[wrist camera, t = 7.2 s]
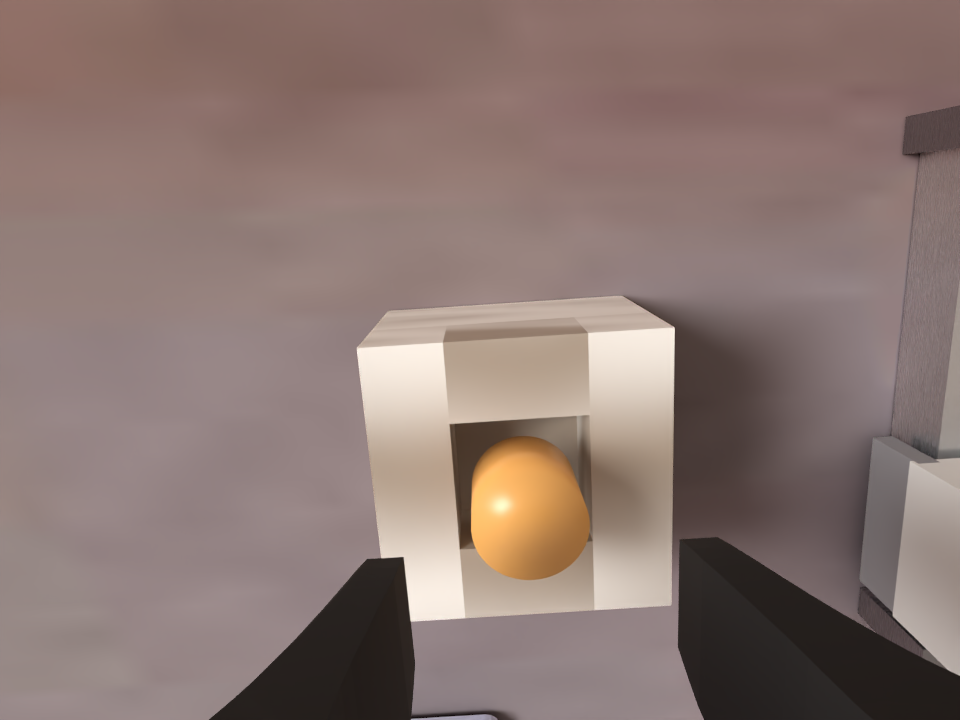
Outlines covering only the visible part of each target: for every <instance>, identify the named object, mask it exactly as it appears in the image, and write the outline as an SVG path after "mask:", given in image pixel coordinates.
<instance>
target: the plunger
mask: <svg viewBox="0 0 960 720" xmlns="http://www.w3.org/2000/svg"><path fill="white" fill-rule="evenodd" d="M589 532H590V519H589V514H588V510H587V507H586V504H585V502H584V499H583V496H582V494H581V491H580V488H579V486H578V483H577V480H576V478H575V475H574V472H573V469H572V467H571V464H570V462H569V461H568V459H567V457H566V456H565V455H564V453H563V452H562V451H561V450H560V449H559V448H557V447H556V446H555V445H553V444H552V443H550V442H548V441H546V440H543V439H541V438H537V437H532V436H517V437H511V438H507V439H505V440H502V441H500V442H498V443H496V444H494V445H493V446H492V447H490V448H489V449H488V450H487V451H486V452H485V453H484V454H483V455H482V456H481V458H480V459H479V461H478V462H477V464H476V466H475V469H474V472H473V476H472V502H471V533H472V539H473V542H474V545H475V548H476V550H477V552H478V553H479V555H480V556H481V558H482V559H483V560H484V561H485V562H486V563H487V564H488V565H489V566H490V567H491V568H493V569H494V570H496V571H497V572H499V573H501V574H503V575H505V576H508V577H511V578H515V579H521V580H538V579H543V578H548V577H550V576H553V575H556V574H558V573H560V572H562V571H563V570H565V569H566V568H568V567H569V566H570V565H571V564H572V563H574V562H575V560H576V559H577V558H578V557H579V556H580V554H581V553H582V551H583V549H584V547H585V545H586V543H587V540H588V537H589Z"/></svg>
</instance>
